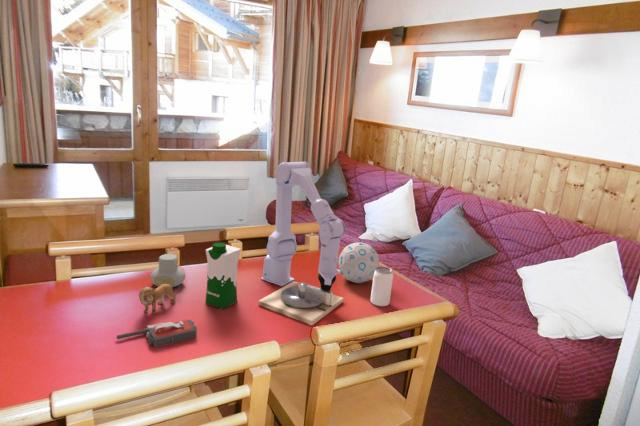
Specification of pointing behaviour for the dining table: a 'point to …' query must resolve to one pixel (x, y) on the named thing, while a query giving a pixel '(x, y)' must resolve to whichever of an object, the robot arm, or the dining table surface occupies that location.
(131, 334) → the walkie-talkie
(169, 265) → the air freshener
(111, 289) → the dining table surface
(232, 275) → the milk carton
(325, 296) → the dial
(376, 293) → the can
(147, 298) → the lion figurine
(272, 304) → the stand plate
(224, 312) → the dining table surface
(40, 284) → the dining table surface
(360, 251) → the puzzle ball
